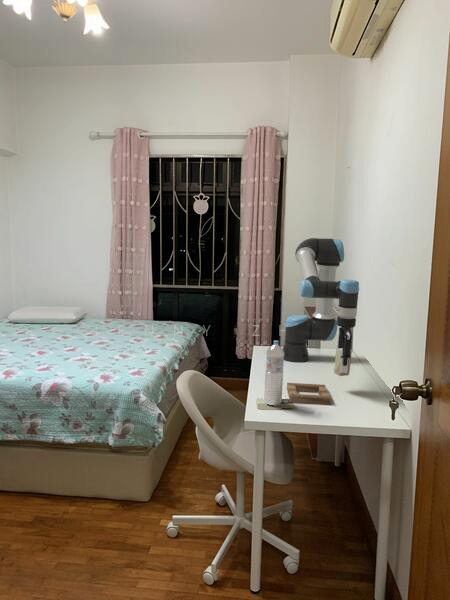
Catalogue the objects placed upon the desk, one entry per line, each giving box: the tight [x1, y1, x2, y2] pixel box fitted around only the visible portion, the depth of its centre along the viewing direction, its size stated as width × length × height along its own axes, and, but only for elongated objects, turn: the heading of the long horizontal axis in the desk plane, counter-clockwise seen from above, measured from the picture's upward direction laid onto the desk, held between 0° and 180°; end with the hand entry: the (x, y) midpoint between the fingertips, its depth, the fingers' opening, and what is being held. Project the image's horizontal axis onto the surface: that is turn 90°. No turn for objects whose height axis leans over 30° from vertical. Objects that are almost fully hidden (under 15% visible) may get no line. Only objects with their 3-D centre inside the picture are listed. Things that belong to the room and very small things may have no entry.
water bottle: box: [263, 340, 285, 407], centre depth 166 cm, size 7×7×25 cm
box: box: [333, 347, 353, 377], centre depth 183 cm, size 5×4×11 cm
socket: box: [286, 382, 333, 406], centre depth 177 cm, size 16×16×2 cm
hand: (342, 369), depth 183 cm, fingers closed on box, 6 cm apart
